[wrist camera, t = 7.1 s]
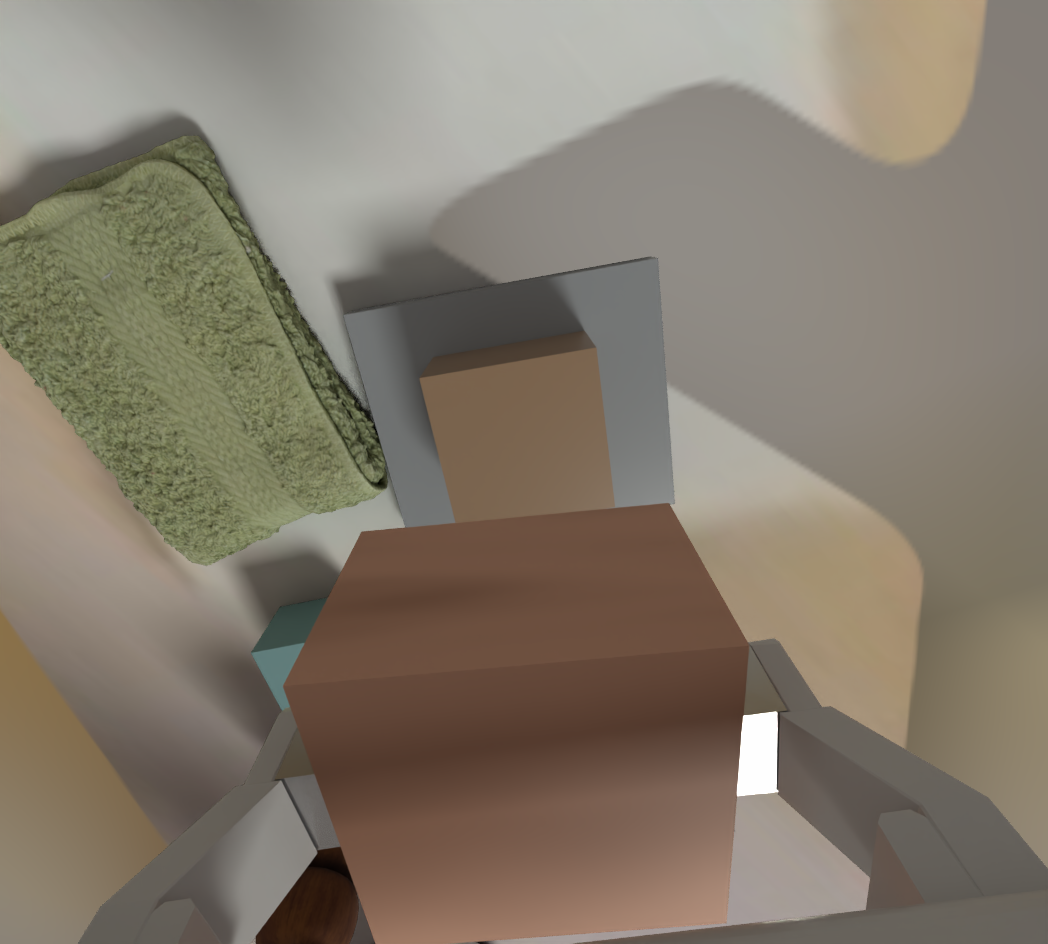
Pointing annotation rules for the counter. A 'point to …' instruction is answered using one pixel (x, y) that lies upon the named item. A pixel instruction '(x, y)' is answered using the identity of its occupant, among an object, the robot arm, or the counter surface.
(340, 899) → the wooden figurine
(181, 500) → the washcloth
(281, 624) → the brick
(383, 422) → the baseplate
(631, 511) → the brick
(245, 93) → the counter surface
